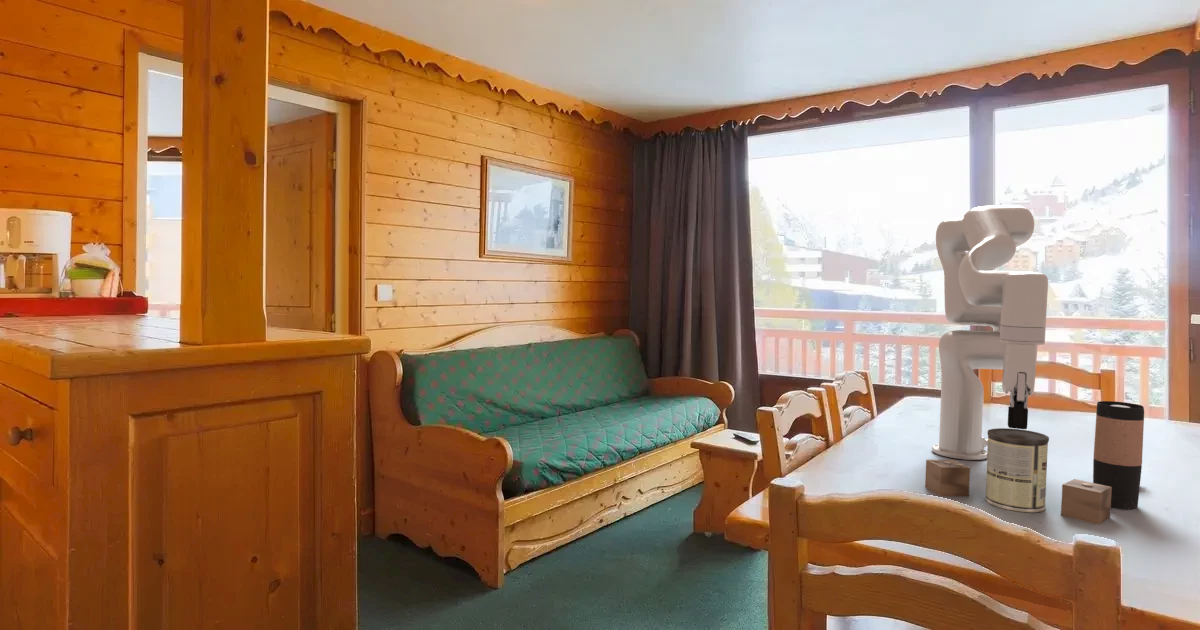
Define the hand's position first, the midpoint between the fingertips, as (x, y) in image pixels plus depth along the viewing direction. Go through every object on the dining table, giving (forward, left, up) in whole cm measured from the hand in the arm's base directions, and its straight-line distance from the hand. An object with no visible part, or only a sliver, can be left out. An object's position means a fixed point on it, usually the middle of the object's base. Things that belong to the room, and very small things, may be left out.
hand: (1017, 427), depth 133 cm
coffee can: (0, 0, -15) cm, 15 cm away
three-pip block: (+7, -10, -15) cm, 19 cm away
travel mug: (-20, +5, -15) cm, 26 cm away
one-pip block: (-7, +9, -15) cm, 19 cm away
